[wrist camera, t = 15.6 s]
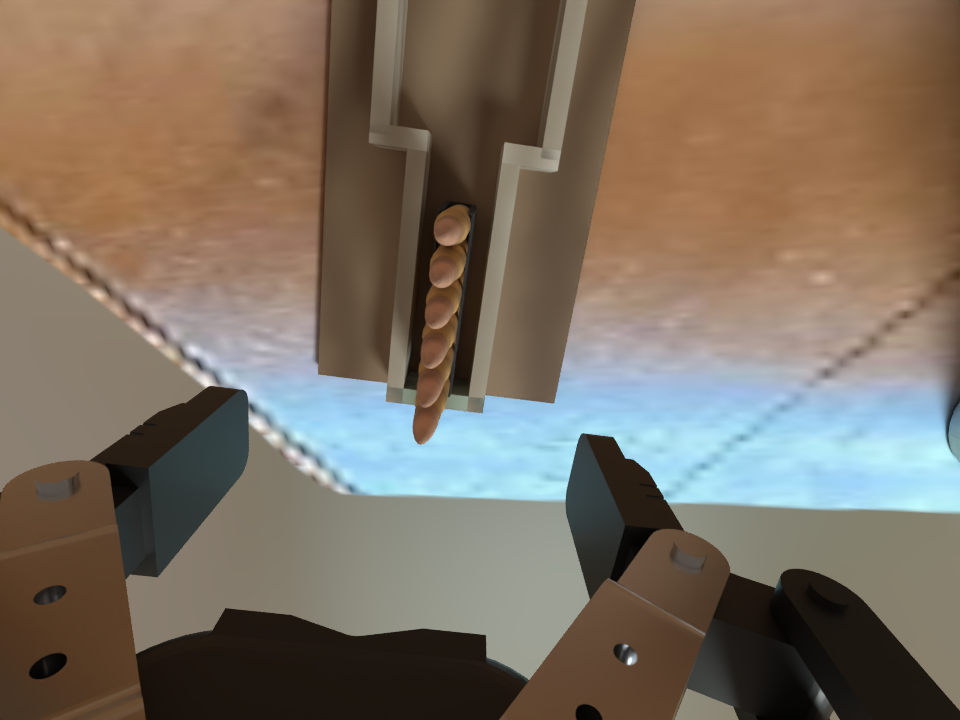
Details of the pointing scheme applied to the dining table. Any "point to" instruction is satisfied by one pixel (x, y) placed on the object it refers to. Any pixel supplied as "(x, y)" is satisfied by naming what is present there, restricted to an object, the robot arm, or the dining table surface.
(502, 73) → the shallow open tray
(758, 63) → the dining table surface
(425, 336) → the ammunition clip
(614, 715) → the robot arm
